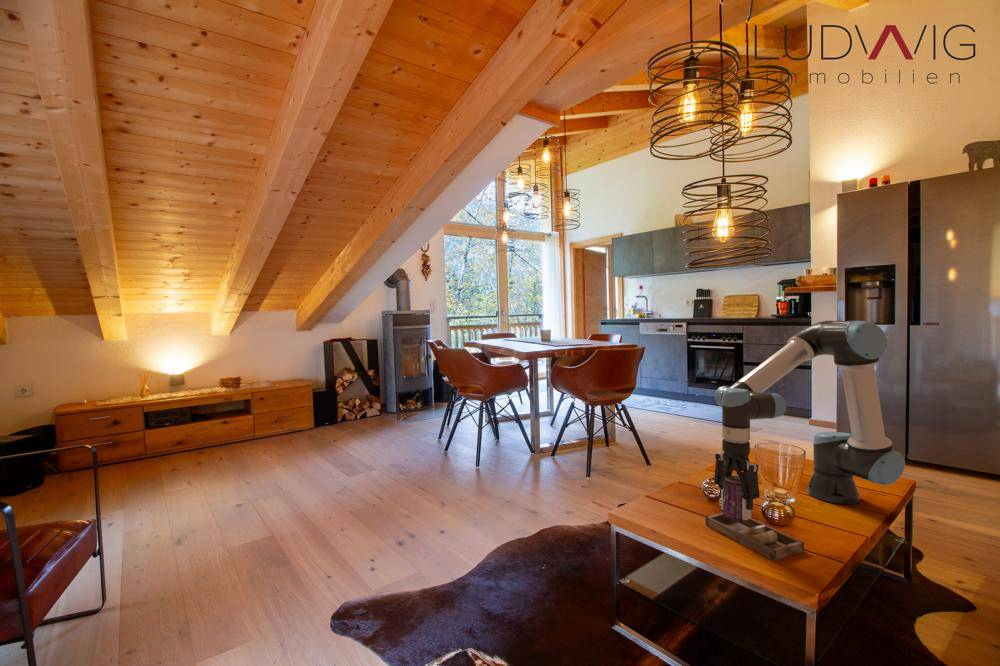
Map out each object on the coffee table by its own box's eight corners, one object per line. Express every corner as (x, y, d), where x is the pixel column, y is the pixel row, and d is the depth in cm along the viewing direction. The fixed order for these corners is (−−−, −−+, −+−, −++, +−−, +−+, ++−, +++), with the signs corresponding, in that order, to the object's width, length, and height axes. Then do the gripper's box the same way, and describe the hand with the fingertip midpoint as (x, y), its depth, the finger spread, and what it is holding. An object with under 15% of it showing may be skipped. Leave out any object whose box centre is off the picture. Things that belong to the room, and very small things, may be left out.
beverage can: (726, 510, 145) (726, 473, 145) (751, 516, 141) (751, 477, 140) (720, 518, 140) (720, 479, 139) (746, 524, 135) (746, 484, 135)
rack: (733, 520, 148) (733, 510, 148) (803, 554, 127) (804, 542, 127) (705, 527, 144) (705, 516, 144) (773, 564, 122) (773, 551, 122)
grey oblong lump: (773, 543, 132) (766, 533, 135) (779, 538, 131) (772, 528, 133) (756, 548, 130) (749, 538, 132) (762, 543, 128) (754, 533, 130)
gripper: (701, 433, 147) (701, 503, 148) (756, 450, 129) (755, 530, 130) (718, 431, 150) (718, 499, 151) (775, 446, 131) (774, 525, 132)
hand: (735, 513), depth 140 cm, fingers closed on beverage can, 7 cm apart
